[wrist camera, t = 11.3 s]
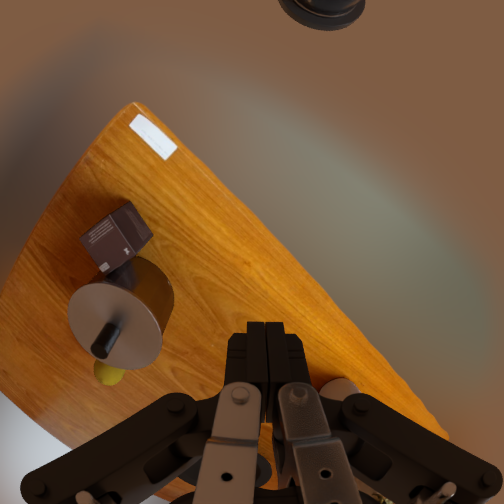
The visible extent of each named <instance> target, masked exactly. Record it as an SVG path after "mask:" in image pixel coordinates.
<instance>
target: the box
mask: <svg viewBox="0 0 504 504" xmlns="http://www.w3.org/2000/svg"><path fill="white" fill-rule="evenodd" d="M152 236H153V234H152V232H151V231H150V229H149V228H148V227H147V225H146V224H145V222H144V221H143V219H142V218H141V216H140V215H139V213H138V212H137V210H136V209H135V207H134V206H133V204H132V202H131V201H129V202H128V203H126V204H125V205H123V206H122V207H120V208H118V209H117V210H115V211H114V212H112V213H111V214H109V215H107V216H106V217H105V218H103V219H102V220H101V221H99V222H98V223H97V224H96V225H94V226H93V227H92V228H90V229H89V230H88V231H87V232H86V233H84V234H83V235H82V236H81V237H80V238H79V240H80V241H81V243H82V244H83V246H84V247H85V248H86V250H87V251H88V253H89V254H90V256H91V257H92V258H93V260H94V261H95V263H96V264H97V266H98V267H99V269H100V270H101V271H102V272H103V274H104V275H107V274H108V273H110V272H111V271H113V270H114V269H116V268H117V267H119V266H121V265H122V264H123V263H125V262H126V261H128V260H129V259H131V258H133V257H134V256H135V255H136V254H137V253H138V252H139V251H140V250H141V249H142V248H143V247H144V245H145V244H146V243H147V242H148V241H149V240H150V238H151V237H152Z"/></svg>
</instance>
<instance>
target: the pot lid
mask: <svg viewBox="0 0 504 504" xmlns="http://www.w3.org/2000/svg"><path fill="white" fill-rule="evenodd" d="M68 320H69V324H70V327H71V330H72V332H73V334H74V336H75V337H76V339H77V341H78V342H79V343H80V344H81V346H82V347H83V348H84V349H85V350H86V351H87V352H88V353H89V354H91V355H92V356H93V357H94V358H96V359H98V360H99V361H101V362H103V363H105V364H107V365H109V366H112V367H115V368H119V369H126V370H134V369H140V368H144V367H146V366H148V365H149V364H151V363H152V362H153V361H154V360H155V359H156V358H157V357H158V355H159V353H160V351H161V347H162V340H163V339H162V331H161V327H160V325H159V322H158V320H157V318H156V316H155V315H154V313H153V312H152V310H151V309H150V308H149V307H148V305H147V304H146V303H145V302H144V301H143V300H142V299H141V298H139V297H138V296H137V295H136V294H134V293H132V292H131V291H129V290H128V289H126V288H124V287H121V286H119V285H116V284H113V283H108V282H91V283H88V284H85V285H83V286H81V287H80V288H79V289H78V290H77V291H76V292H75V293H74V294H73V295H72V297H71V299H70V301H69V305H68Z"/></svg>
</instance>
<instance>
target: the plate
mask: <svg viewBox="0 0 504 504" xmlns="http://www.w3.org/2000/svg"><path fill="white" fill-rule="evenodd" d="M202 457H203V456H202ZM202 457H201V458H200V459H199V460H198V461H197V462H196V463H194V464H193V465H192V466H191V467H189V468H188V469H187V470H185V471H184V472H183V473H181V474H180V475H179V476H178V477H179V478H180V479H182V480H184V481H185V482H187V483H189V484H191V485H194V486H196V484H197V480H198V475H199V470H200V466H201V461H202ZM271 475H272V469H271V465H270V464H269V462H268V461H267V460H266V459H265V458H264V457H263V456H261V455H260V454H258V453H257V462H256V474H255V486H254V487H261V486H262V485H264V484H265V483H267V482H268V481H269V479H270V478H271Z"/></svg>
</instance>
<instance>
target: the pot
mask: <svg viewBox="0 0 504 504" xmlns="http://www.w3.org/2000/svg"><path fill="white" fill-rule="evenodd" d="M91 282H108V283H113V284H116V285H119V286H121V287H124V288H126V289H128V290H129V291H131V292H132V293H134V294H136V295H137V296H138V297H139V298H141V299H142V300H143V301H144V302H145V303H146V304H147V305H148V307H149V308H150V309H151V310H152V312H153V313H154V315H155V316H156V318H157V320H158V322H159V325H160V327H161V331H162V336H163V333H164V330H165V328H166V325H167V323H168V320H169V318H170V315H171V313H172V310H173V307H174V292H173V289H172V286H171V284H170V281H169V280H168V278H167V277H166V275H165V274H164V273H163V272H162V271H161V270H160V269H159V268H158V267H157V266H156V265H154V264H153V263H151V262H150V261H148V260H146V259H143V258H140V257H136V256H134V257H133V258H131V259H129V260H128V261H126V262H125V263H123V264H122V265H121V266H119V267H117V268H116V269H114V270H113V271H111V272H110V273H108V274H107V275H104V274H103V272H102V271H101V270H100V271H99V272H98V273H97V274H96V275H95V276H94V277H93V278H92V279H91V280H90V281H89V282H88V283H91ZM88 283H87V284H88Z"/></svg>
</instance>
